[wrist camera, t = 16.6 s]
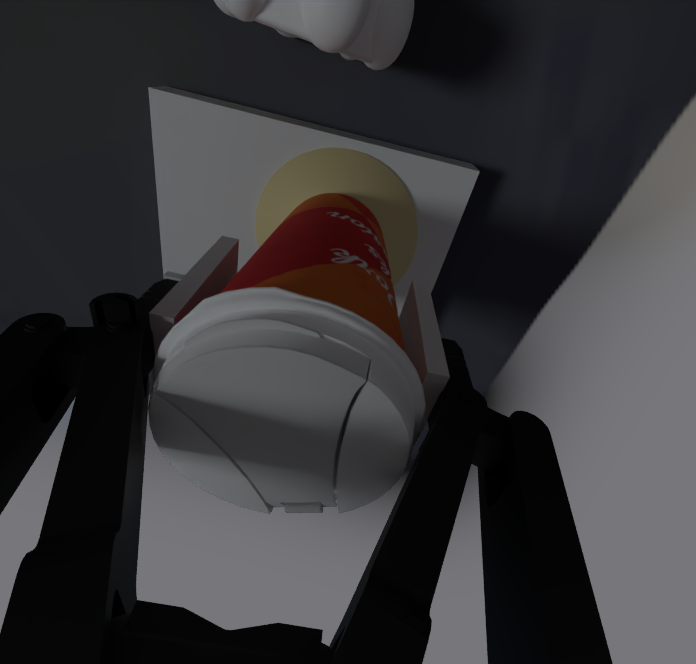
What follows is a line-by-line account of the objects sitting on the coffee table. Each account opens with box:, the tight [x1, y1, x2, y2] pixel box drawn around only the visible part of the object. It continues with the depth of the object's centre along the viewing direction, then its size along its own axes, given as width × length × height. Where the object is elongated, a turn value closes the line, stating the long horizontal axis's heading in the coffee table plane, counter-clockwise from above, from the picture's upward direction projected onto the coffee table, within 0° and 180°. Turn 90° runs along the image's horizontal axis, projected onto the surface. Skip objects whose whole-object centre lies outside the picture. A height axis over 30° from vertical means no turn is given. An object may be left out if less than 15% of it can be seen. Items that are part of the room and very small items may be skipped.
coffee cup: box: [148, 193, 426, 514], centre depth 16 cm, size 8×8×15 cm
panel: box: [148, 86, 480, 316], centre depth 25 cm, size 18×20×5 cm
